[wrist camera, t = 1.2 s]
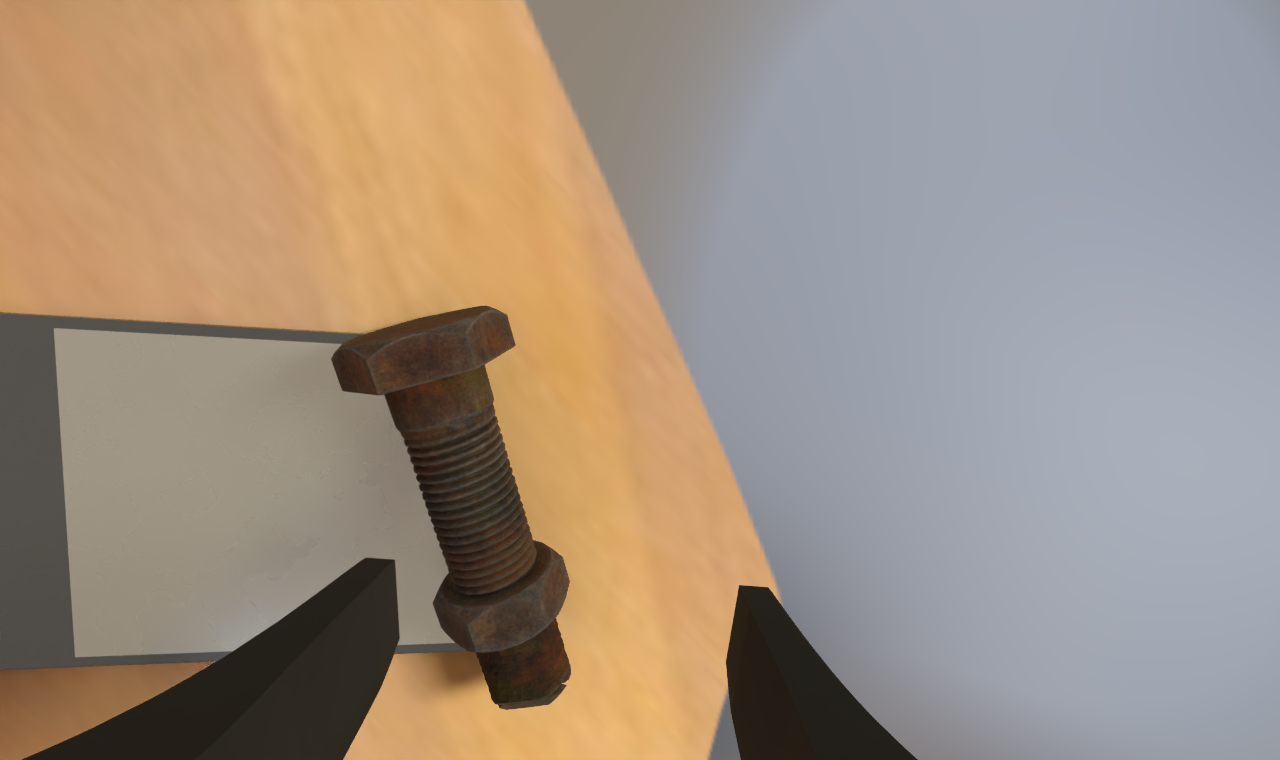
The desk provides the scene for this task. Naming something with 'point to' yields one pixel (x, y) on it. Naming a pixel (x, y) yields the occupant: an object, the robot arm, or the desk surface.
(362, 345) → the bolt
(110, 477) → the flat rectangular plate
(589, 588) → the desk surface
